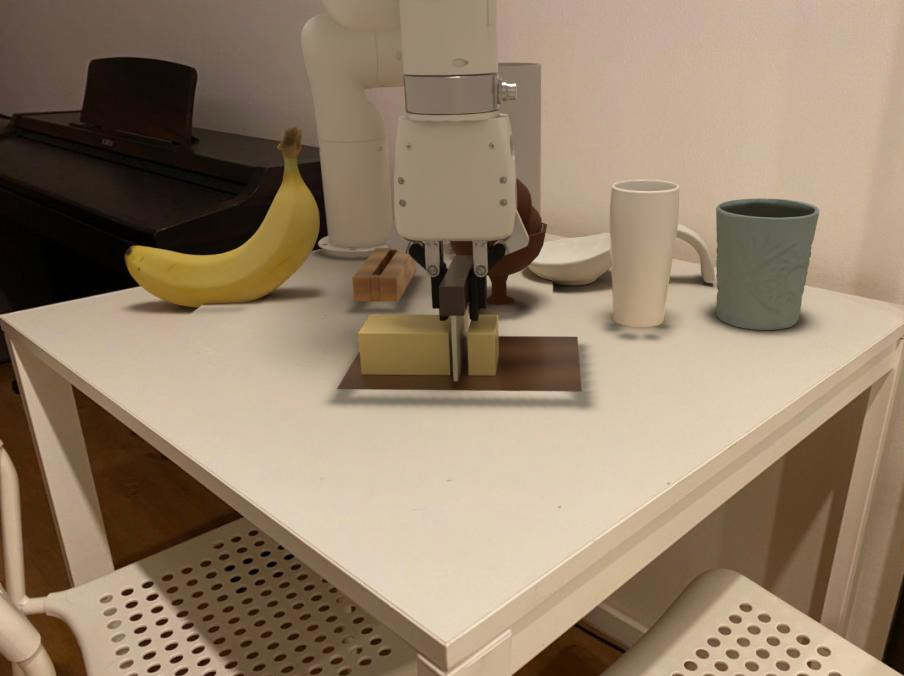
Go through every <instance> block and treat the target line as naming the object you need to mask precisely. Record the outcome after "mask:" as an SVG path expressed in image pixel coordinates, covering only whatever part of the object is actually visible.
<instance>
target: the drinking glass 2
mask: <svg viewBox="0 0 904 676" xmlns="http://www.w3.org/2000/svg"><path fill="white" fill-rule="evenodd" d="M610 188H611V190H610V199H609V219H608V221H609V227H608V229H609V232H610V252H611V267H610V269H611V271H610V272H611V291H612V293H611V295H612V320H613V322H615V323H616V324H619V325H622V326H625V327H630V328H652V327H657V326H660V325H662V324H663V323H664V322H665V316H666V315H665V313H666V306H667V305H666V304H667V298H668V292H669V286H670V285H669V284H670V279H671V271H672V267H673V260H674V253H675V247H676V242H677V241H676V240H677V237H676V235H677V227H678V224H679V217H680V196H681V195H680V191H681V190H680V189H681V186H680V185H679V184H677V183H675V182H673V181H667V180H660V179H628V180H621V181H616V182H614V183H613V184H612V185H611V187H610Z"/></svg>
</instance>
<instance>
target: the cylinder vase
mask: <svg viewBox="0 0 904 676" xmlns="http://www.w3.org/2000/svg"><path fill="white" fill-rule="evenodd" d="M496 73H499V78H502V81H507V83H508V82H516V85H517V98H516V100H507V102H503V103H502V104H499V108H498V109H499V113H500V114H507V115H508V117H509V121H510V126H511V131H512V137H513V145H514V155H515V169H516V179H519V180H520V181H521V182H522V183H523V184H524V185H525V186H526V187H527V188H528V190H529V192H530V194H531V199H532V206H533V207H534V208H535V209H536V210H537V211H538V212H539V214H540V215H541V210H542V209H541V205H542V203H541V199H542V197H541V193H542V192H541V191H542V189H541V188H542V186H541V184H542V183H541V181H542V179H541V178H542V177H541V175H542V174H541V173H542V167H541V165H542V163H541V162H542V152H541V151H542V63H538V62H498V72H496ZM451 248H452V247H451ZM452 250H453V248H452Z"/></svg>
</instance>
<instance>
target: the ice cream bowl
mask: <svg viewBox="0 0 904 676" xmlns="http://www.w3.org/2000/svg"><path fill="white" fill-rule="evenodd" d="M516 186H517V211H518V213H519V215H520V218H521V220H522V222H523V225H524V227H525V229H526V231H527V234H528V236H529V243H528V245H527V246H526V247H524V248H522V249H520V250H517V251H515V252H513V253H510V254H507V255H505V256H503V257H502V258H501V259H500V260H499V261H498V262H497V263H496V264H495V265H494V266H493V267H492V268H491V269H490V270H489V271H488V272H487V276H488V278H489V281H490V282H491V294H490V295H489V296H487V305H491V306H506V305H509V304H513V303H514V302H515V298H513V297H511V296H510V295H508V288H507V282H508V278H509V277H510V276H512V275H514V274H517V273H520V272H522V271H523V270H525V269H526V268H527V267H528V266H529V265H530V264H531V263H532V262H533V261H534V260H535V259H536V258H537V257H538V255H539V253H540V251H541V249H542V247H543V244H544V242H545V239H546V233H547V228H548V224H547V223H545V222H543V221H542V216H541V213H540V214H539V212H538V211H537V210H536V209H535V208H534V207H533V206H532V199H531V194H530V192H529V190H528V188H527V187H526V186H525V185H524V184H523V183H522V182H521V181H520V180H519V179H516ZM500 240H501V239H500ZM495 241H497V240H493V241H489V244H490V246H491V245H492V244H493V243H494V242H495ZM449 245H450V246H451V248H453V249H452V251H453V252H454V255H473V241H449Z"/></svg>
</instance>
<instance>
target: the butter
mask: <svg viewBox="0 0 904 676" xmlns="http://www.w3.org/2000/svg"><path fill="white" fill-rule="evenodd" d="M357 340H358V348H359V349H358V350H359V351H360V361H361V372H362V375H451V371H452V368H453V359H452V333H451V316H449V318H448V319H446V321H440V319H439V314H400V313H399V314H398V313H397V314H394V313H393V314H390V313H389V314H387V313H386V314H384V313H382V314H381V313H380V314H378V313H376V314H375V313H373V314H371V313H369V315H368V317H367V318H366V319H365V321H364V323H363V324H362V326H361V327H360V329H359V331H358V332H357Z"/></svg>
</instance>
